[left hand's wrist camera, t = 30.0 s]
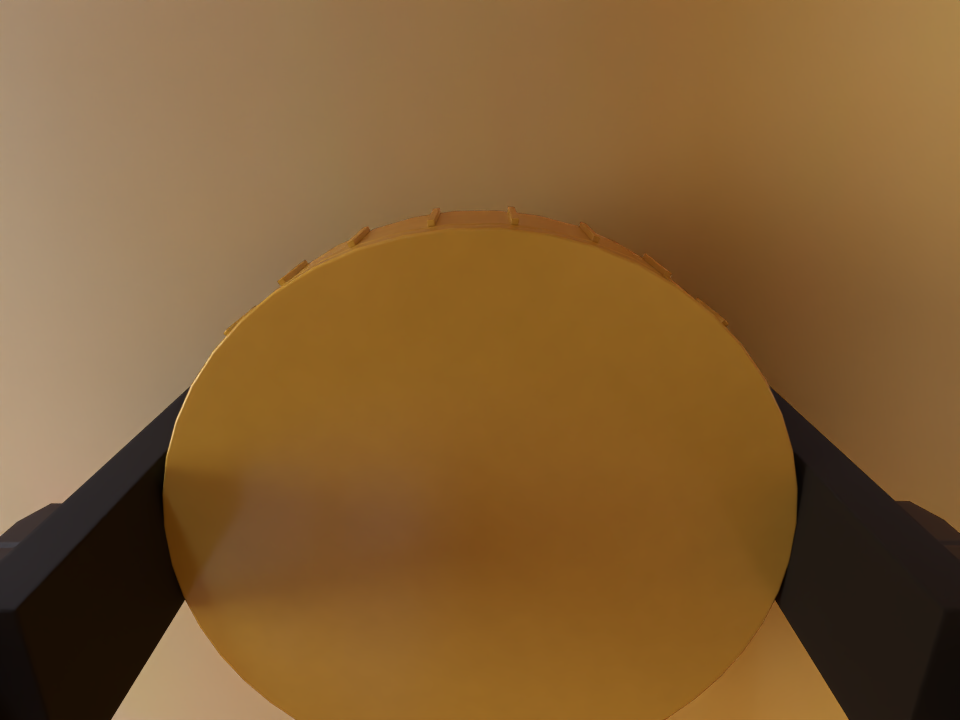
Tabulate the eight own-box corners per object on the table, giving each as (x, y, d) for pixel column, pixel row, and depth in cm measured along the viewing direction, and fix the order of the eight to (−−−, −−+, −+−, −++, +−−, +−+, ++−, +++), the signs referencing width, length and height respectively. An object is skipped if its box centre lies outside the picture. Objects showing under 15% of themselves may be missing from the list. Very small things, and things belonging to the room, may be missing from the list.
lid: (587, 749, 15) (602, 836, 13) (139, 588, 13) (86, 661, 11) (869, 363, 11) (942, 408, 10) (320, 90, 10) (284, 84, 8)
